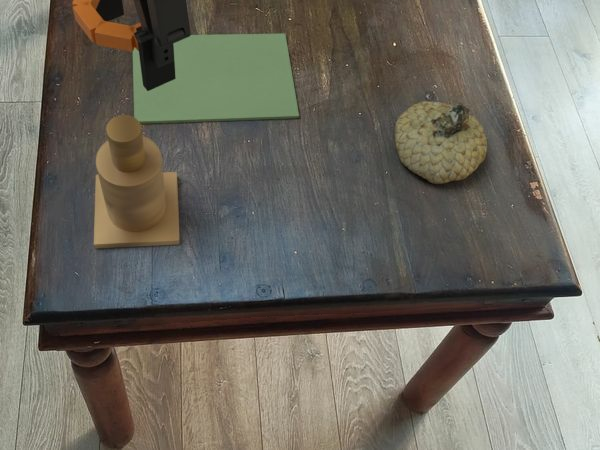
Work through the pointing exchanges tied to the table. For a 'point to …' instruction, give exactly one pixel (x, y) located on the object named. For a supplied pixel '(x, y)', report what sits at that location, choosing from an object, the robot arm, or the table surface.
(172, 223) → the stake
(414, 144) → the acorn cap
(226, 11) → the table surface
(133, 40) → the ring
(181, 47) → the mat
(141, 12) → the robot arm
